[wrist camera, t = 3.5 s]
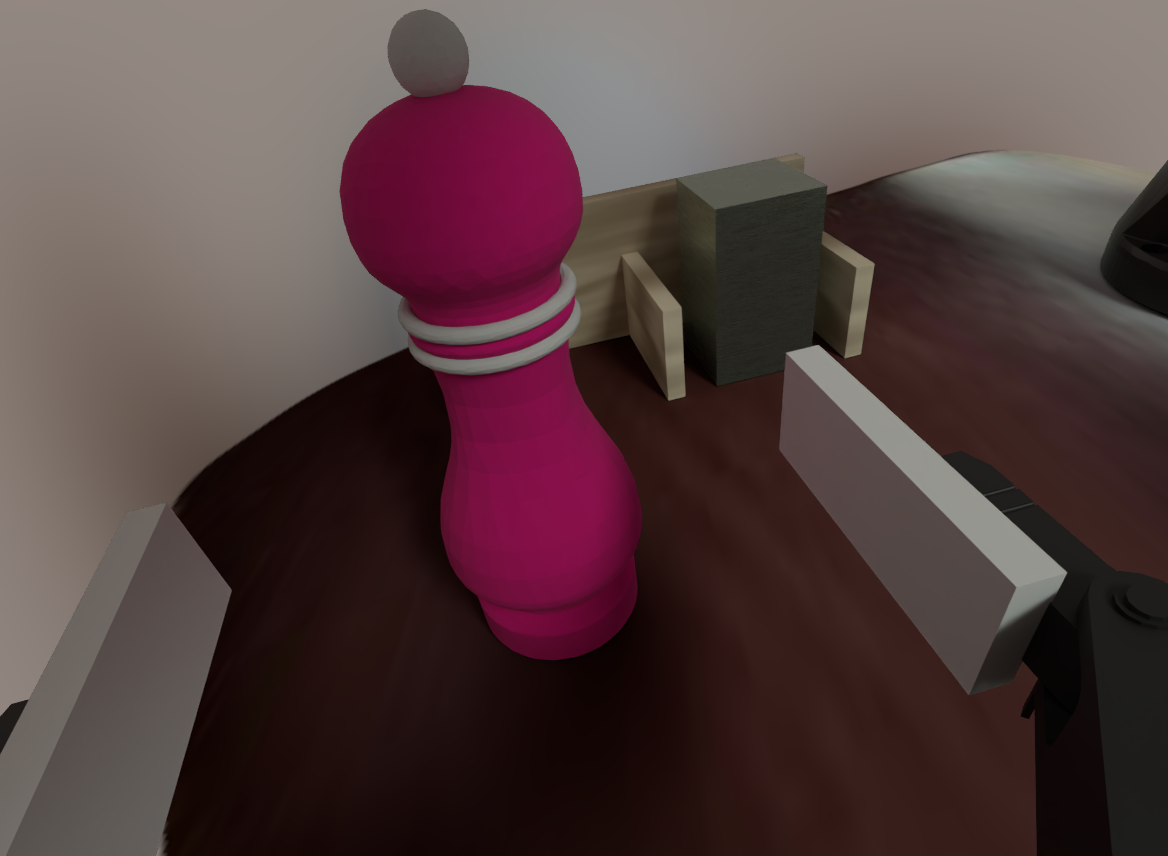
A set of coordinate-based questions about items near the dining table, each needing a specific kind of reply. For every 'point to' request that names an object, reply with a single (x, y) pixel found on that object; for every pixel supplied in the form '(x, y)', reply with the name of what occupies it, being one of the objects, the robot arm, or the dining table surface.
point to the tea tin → (749, 266)
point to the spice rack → (653, 283)
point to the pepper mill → (497, 341)
